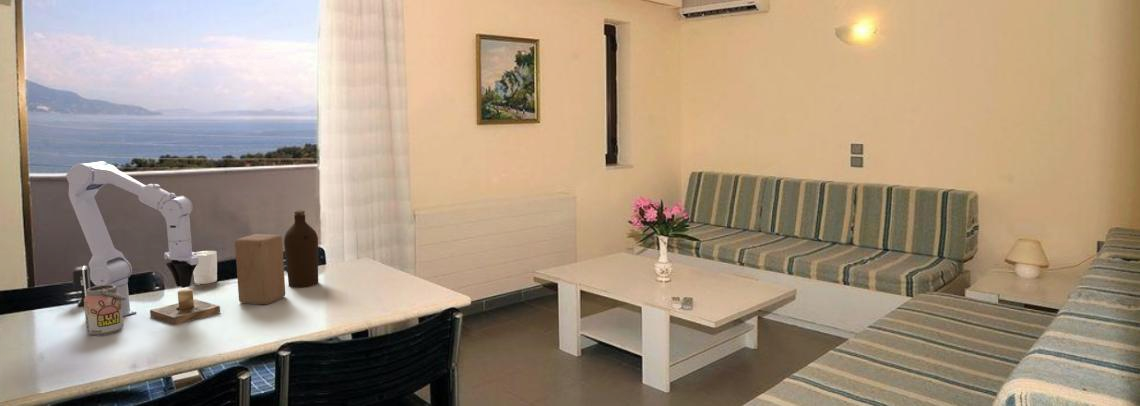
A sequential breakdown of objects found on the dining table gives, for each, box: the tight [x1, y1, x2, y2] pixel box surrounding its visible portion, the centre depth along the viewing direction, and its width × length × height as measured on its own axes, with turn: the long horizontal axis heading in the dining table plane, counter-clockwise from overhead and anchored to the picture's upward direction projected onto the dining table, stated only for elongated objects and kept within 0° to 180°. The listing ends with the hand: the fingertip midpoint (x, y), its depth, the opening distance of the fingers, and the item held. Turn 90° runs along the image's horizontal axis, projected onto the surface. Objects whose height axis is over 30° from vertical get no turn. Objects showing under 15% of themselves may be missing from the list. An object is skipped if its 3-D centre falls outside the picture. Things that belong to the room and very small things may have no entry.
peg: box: [177, 288, 194, 310], centre depth 197 cm, size 4×4×7 cm
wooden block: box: [234, 233, 286, 305], centre depth 211 cm, size 10×10×20 cm
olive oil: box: [283, 209, 319, 288], centre depth 230 cm, size 11×11×25 cm
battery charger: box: [72, 265, 91, 307], centre depth 208 cm, size 7×4×11 cm, turn 32°
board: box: [149, 298, 221, 325], centre depth 198 cm, size 13×13×2 cm
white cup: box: [192, 250, 218, 285], centre depth 234 cm, size 8×8×10 cm
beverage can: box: [84, 285, 126, 337], centre depth 183 cm, size 9×8×12 cm
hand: (183, 286), depth 196 cm, fingers closed
